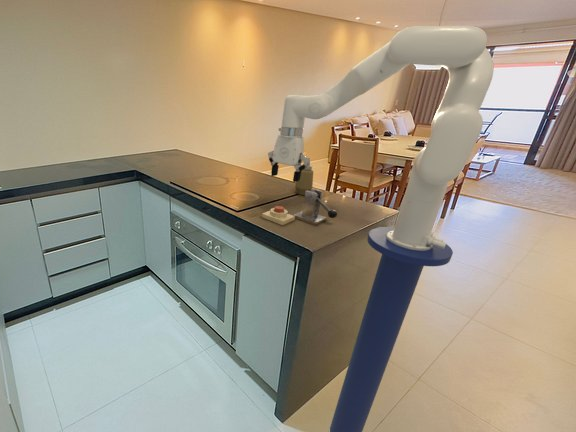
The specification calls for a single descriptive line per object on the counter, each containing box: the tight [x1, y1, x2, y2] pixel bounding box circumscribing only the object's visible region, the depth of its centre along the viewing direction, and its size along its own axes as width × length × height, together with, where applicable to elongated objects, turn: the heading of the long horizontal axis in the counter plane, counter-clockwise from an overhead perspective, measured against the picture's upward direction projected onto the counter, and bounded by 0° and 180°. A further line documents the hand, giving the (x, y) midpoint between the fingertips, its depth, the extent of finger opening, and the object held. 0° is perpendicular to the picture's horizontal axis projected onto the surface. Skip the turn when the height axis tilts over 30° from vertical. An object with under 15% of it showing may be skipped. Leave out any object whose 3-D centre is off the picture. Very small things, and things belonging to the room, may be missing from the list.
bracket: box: [292, 188, 328, 226], centre depth 117 cm, size 10×8×12 cm
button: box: [274, 205, 285, 213], centre depth 117 cm, size 4×4×2 cm
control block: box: [261, 207, 296, 226], centre depth 118 cm, size 10×8×4 cm
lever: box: [311, 190, 338, 219], centre depth 113 cm, size 13×3×3 cm
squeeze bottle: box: [294, 157, 314, 196], centre depth 144 cm, size 8×8×18 cm
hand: (284, 178), depth 112 cm, fingers open, 9 cm apart
